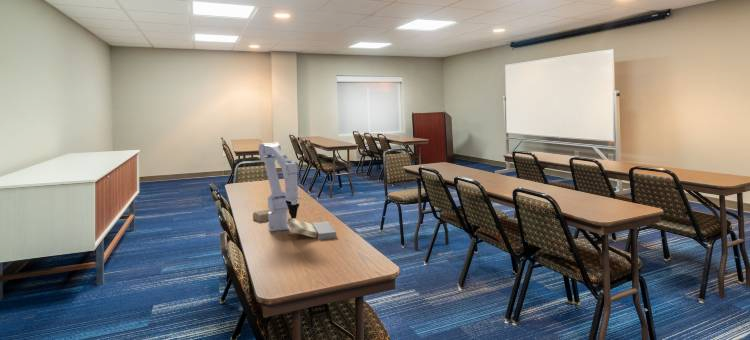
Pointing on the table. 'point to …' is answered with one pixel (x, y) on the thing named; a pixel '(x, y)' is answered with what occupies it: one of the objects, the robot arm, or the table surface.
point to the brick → (261, 215)
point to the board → (324, 230)
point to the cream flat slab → (301, 227)
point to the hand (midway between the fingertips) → (292, 216)
